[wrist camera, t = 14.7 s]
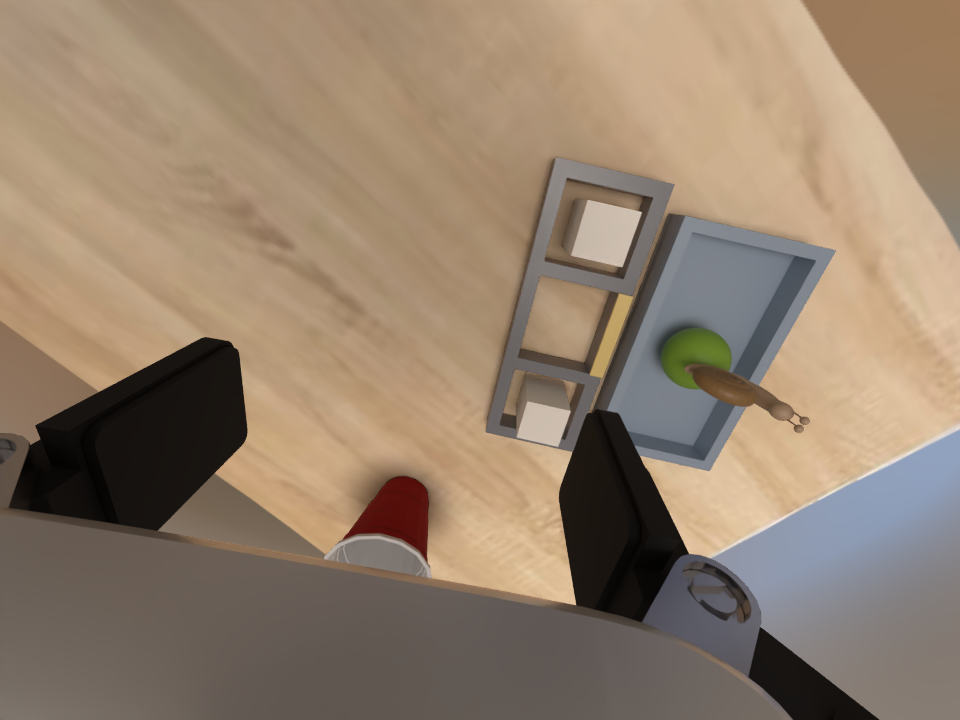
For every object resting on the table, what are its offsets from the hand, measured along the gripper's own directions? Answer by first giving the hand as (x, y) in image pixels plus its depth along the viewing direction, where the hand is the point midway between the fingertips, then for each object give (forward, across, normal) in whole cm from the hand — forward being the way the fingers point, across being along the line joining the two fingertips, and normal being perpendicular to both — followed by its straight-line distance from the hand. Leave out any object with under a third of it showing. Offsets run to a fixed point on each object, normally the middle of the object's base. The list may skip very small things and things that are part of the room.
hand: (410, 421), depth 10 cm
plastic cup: (+27, +4, +30) cm, 41 cm away
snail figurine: (+26, -21, +5) cm, 34 cm away
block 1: (+27, -9, +13) cm, 31 cm away
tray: (+27, -21, +5) cm, 35 cm away
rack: (+27, -9, +5) cm, 29 cm away
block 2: (+28, -10, -4) cm, 29 cm away
